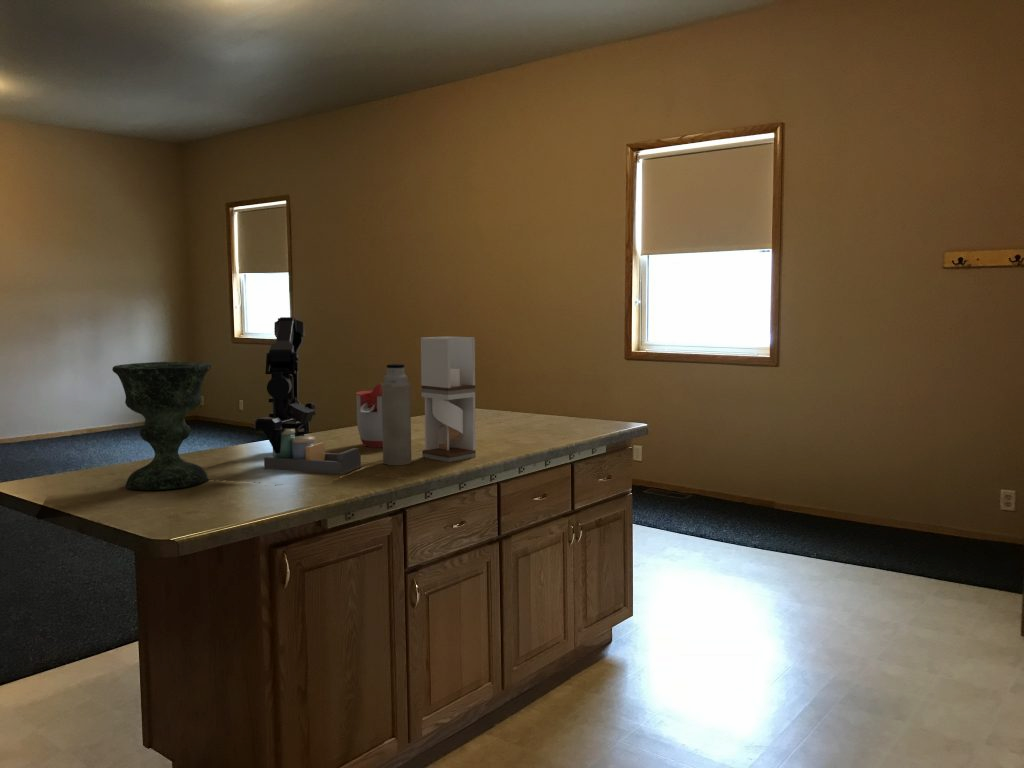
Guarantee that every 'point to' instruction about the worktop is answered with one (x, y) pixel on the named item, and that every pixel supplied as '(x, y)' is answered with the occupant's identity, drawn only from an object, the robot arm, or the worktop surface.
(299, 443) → the slate jar
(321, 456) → the bar
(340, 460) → the grey open rectangular box
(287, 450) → the teal jar
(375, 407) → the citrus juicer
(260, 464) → the worktop surface
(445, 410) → the spiral ramp tower
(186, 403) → the goblet
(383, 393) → the thermos bottle
